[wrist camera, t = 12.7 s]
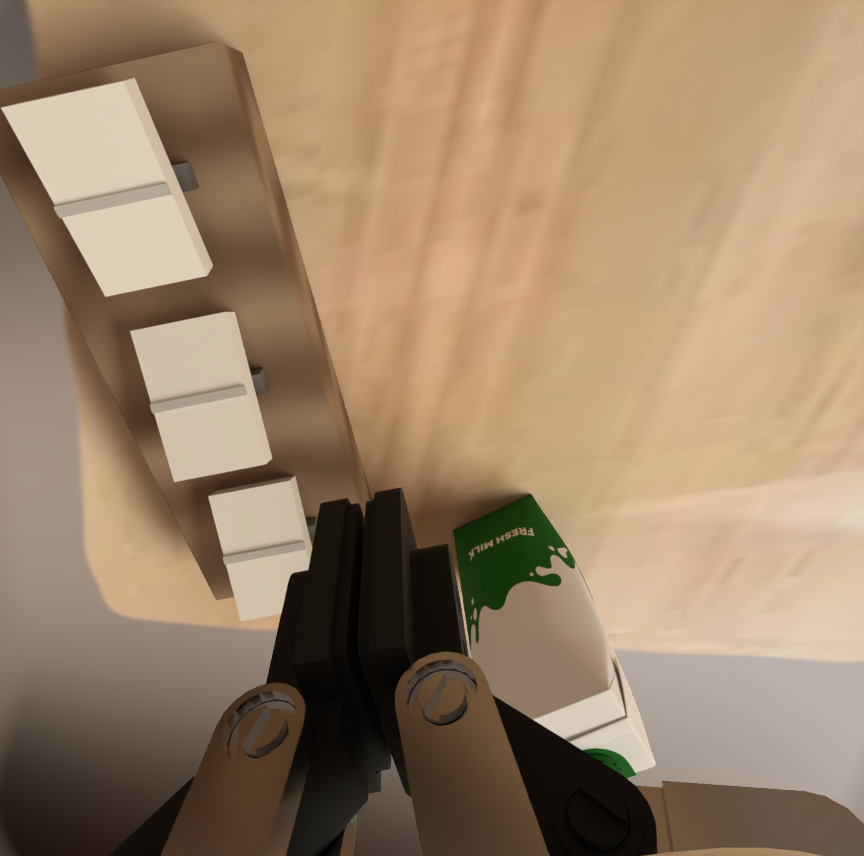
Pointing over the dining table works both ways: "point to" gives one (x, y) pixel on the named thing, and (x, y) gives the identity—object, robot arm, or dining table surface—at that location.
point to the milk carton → (546, 636)
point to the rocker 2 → (202, 395)
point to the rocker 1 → (112, 185)
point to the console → (207, 286)
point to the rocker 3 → (261, 542)
